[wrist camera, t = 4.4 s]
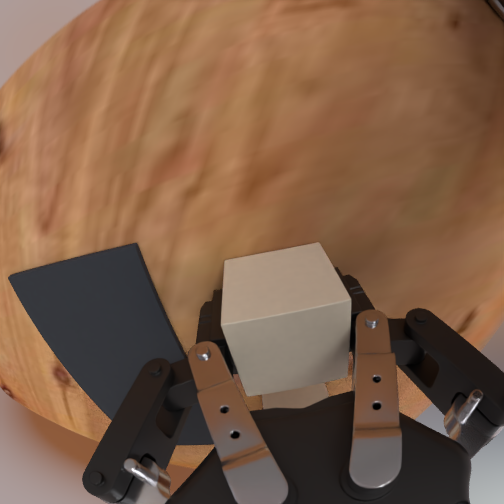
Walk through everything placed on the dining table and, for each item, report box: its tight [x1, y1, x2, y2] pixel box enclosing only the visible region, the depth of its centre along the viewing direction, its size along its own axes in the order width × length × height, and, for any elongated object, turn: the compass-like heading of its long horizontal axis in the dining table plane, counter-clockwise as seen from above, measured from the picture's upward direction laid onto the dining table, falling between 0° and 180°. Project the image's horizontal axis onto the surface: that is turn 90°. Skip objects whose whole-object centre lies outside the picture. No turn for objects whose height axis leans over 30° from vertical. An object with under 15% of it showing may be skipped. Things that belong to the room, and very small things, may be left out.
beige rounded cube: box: [221, 242, 351, 396], centre depth 12 cm, size 4×5×4 cm
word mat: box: [8, 243, 214, 445], centre depth 17 cm, size 20×10×1 cm, turn 11°
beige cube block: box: [262, 383, 329, 409], centre depth 17 cm, size 4×5×4 cm
